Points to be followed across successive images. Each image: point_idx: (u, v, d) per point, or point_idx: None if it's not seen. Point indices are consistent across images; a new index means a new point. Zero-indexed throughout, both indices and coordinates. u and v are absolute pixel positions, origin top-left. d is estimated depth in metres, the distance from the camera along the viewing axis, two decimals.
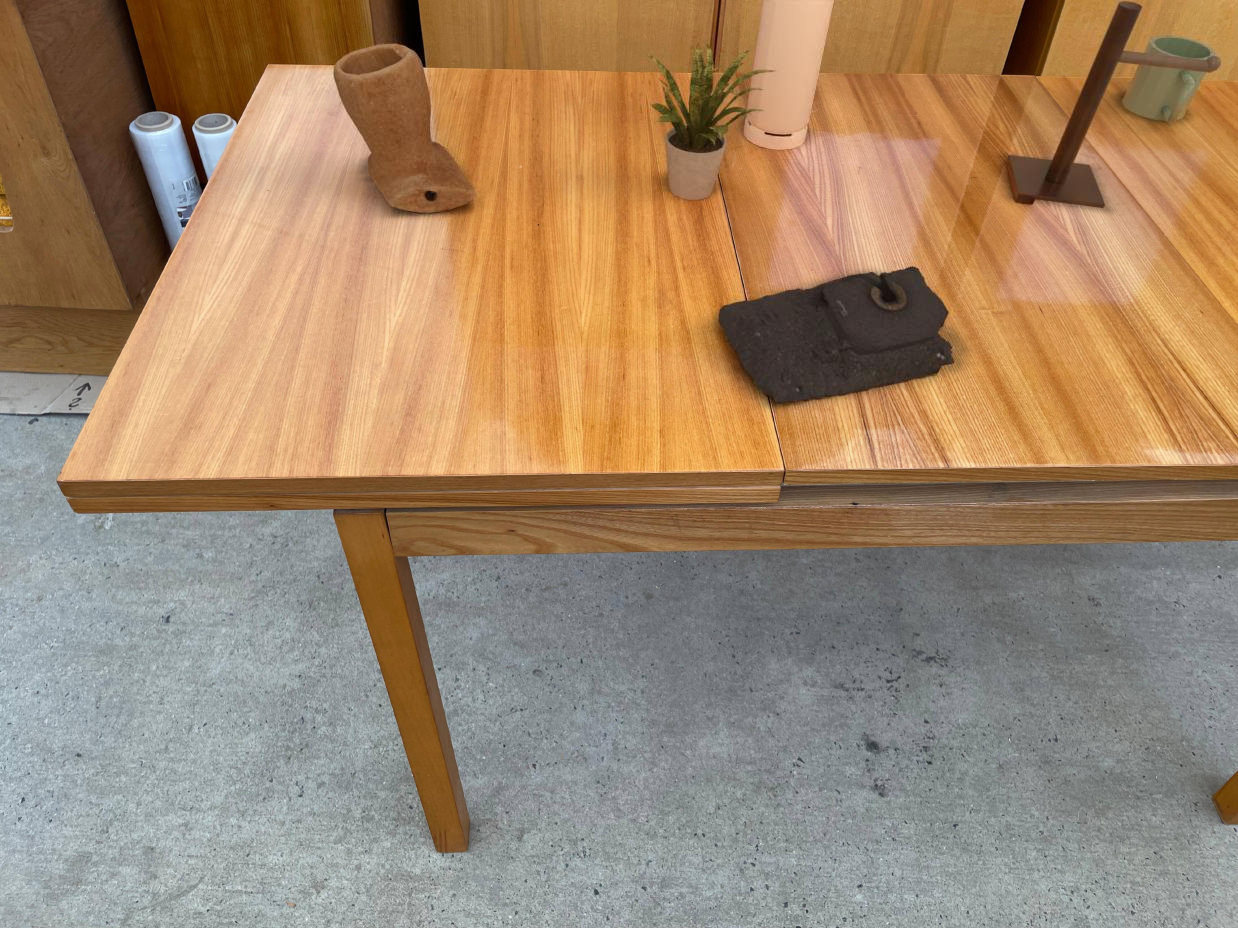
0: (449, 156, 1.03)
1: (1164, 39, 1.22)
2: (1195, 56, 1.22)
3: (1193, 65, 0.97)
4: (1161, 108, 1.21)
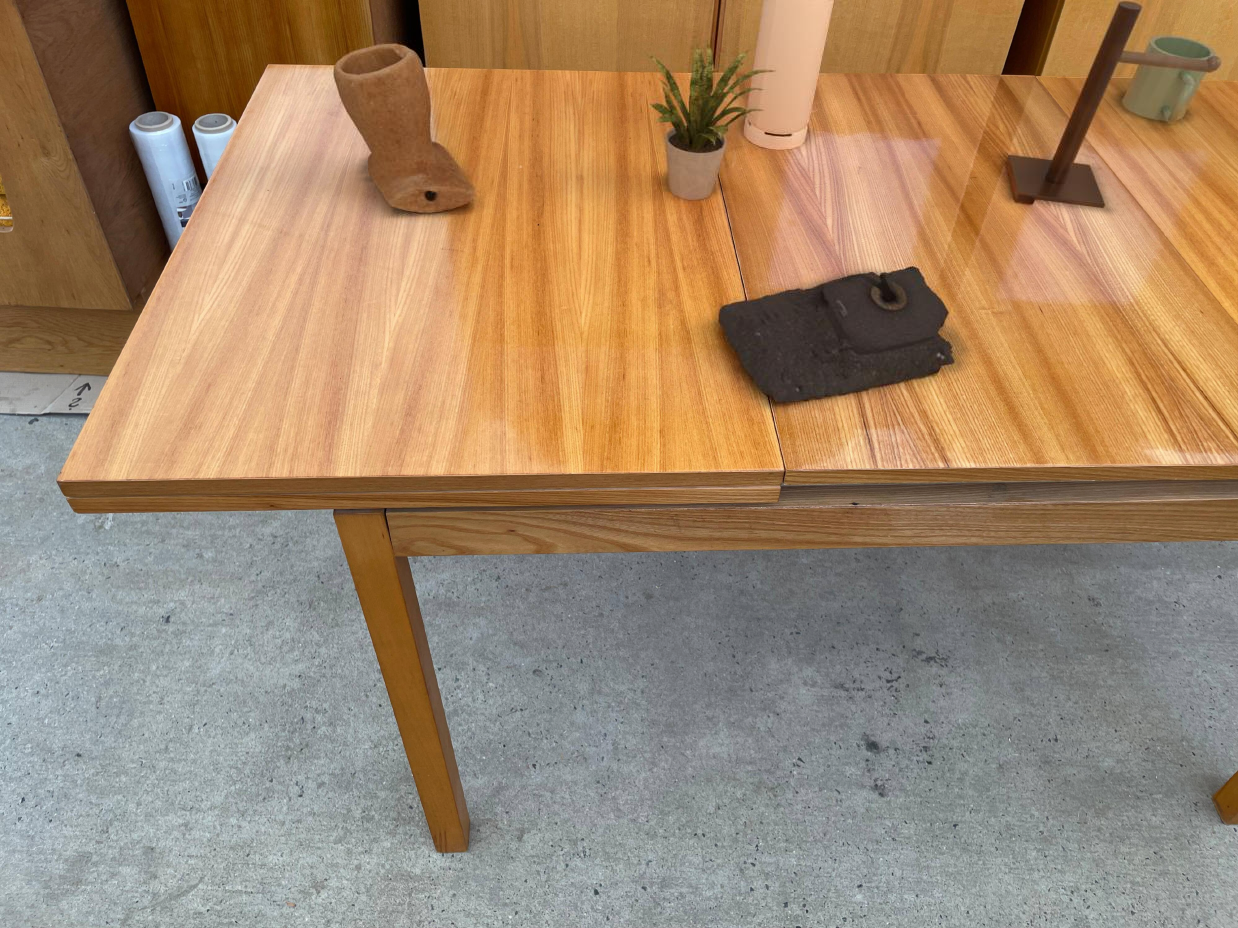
0: (449, 156, 1.03)
1: (1164, 39, 1.22)
2: (1195, 56, 1.22)
3: (1193, 65, 0.97)
4: (1161, 108, 1.21)
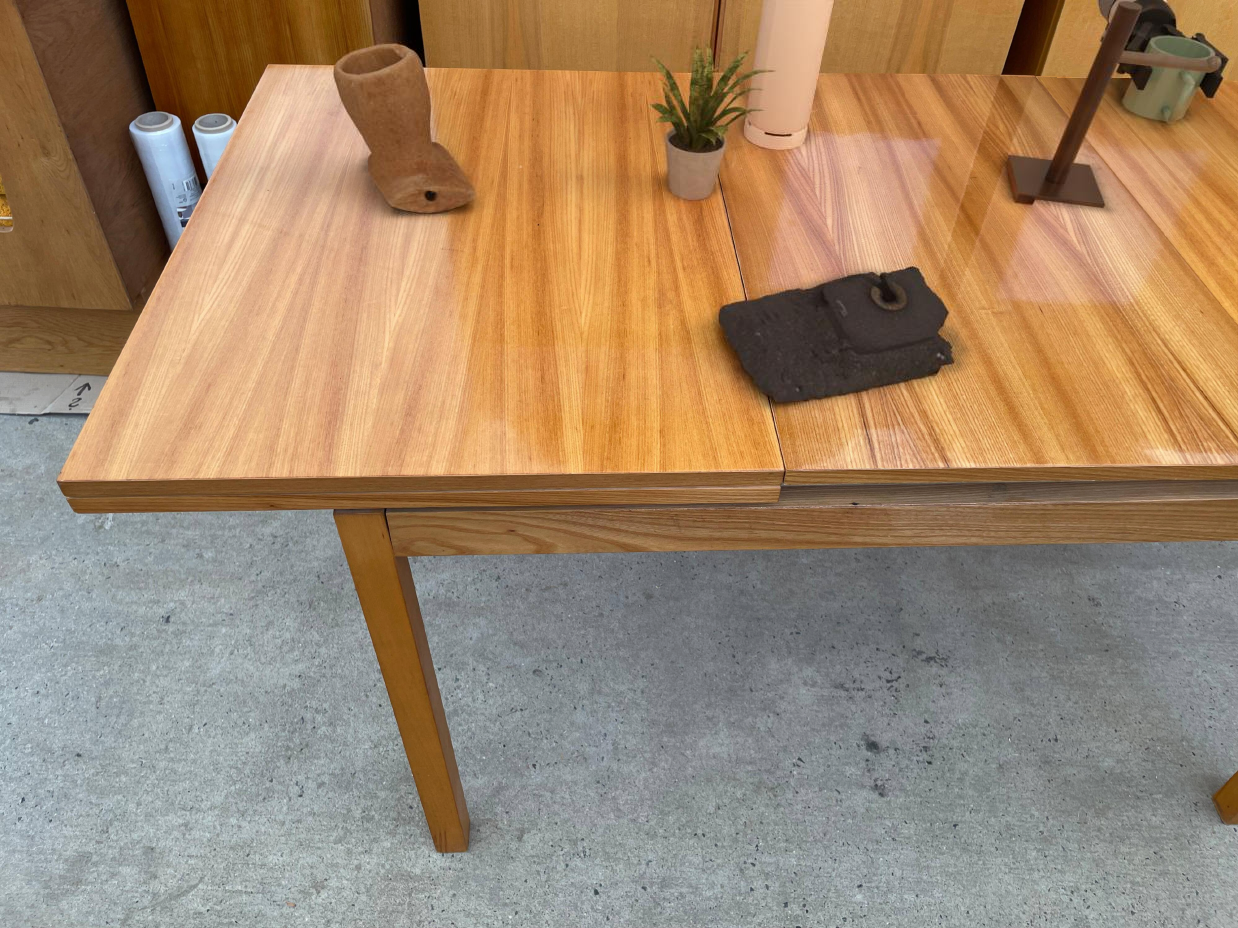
0: (449, 156, 1.03)
1: (1164, 38, 1.22)
2: (1195, 56, 1.22)
3: (1193, 65, 0.97)
4: (1161, 108, 1.21)
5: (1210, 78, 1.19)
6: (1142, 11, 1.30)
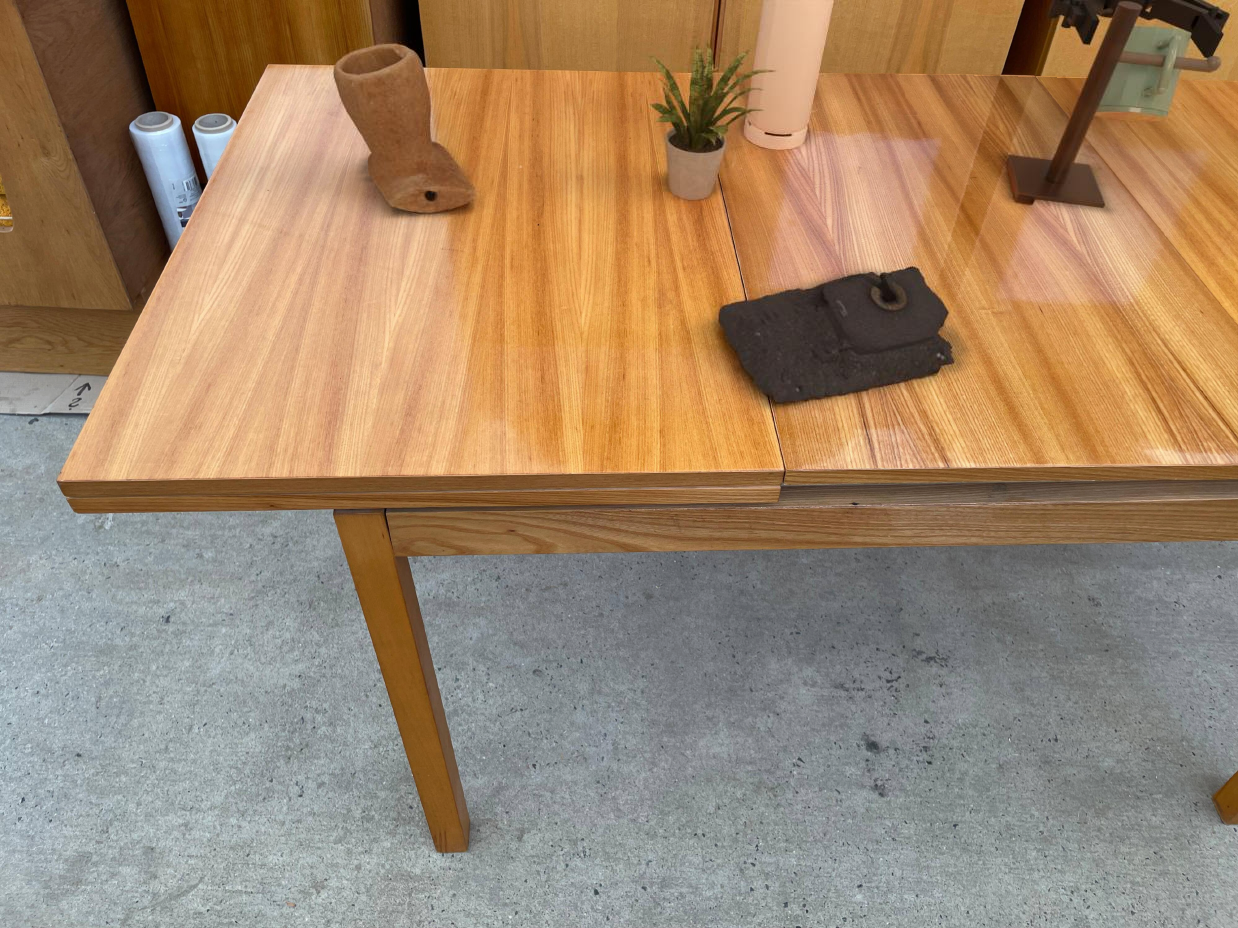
0: (449, 156, 1.03)
1: None
2: None
3: (1193, 65, 0.97)
4: (1143, 90, 1.01)
5: (1208, 35, 1.02)
6: None
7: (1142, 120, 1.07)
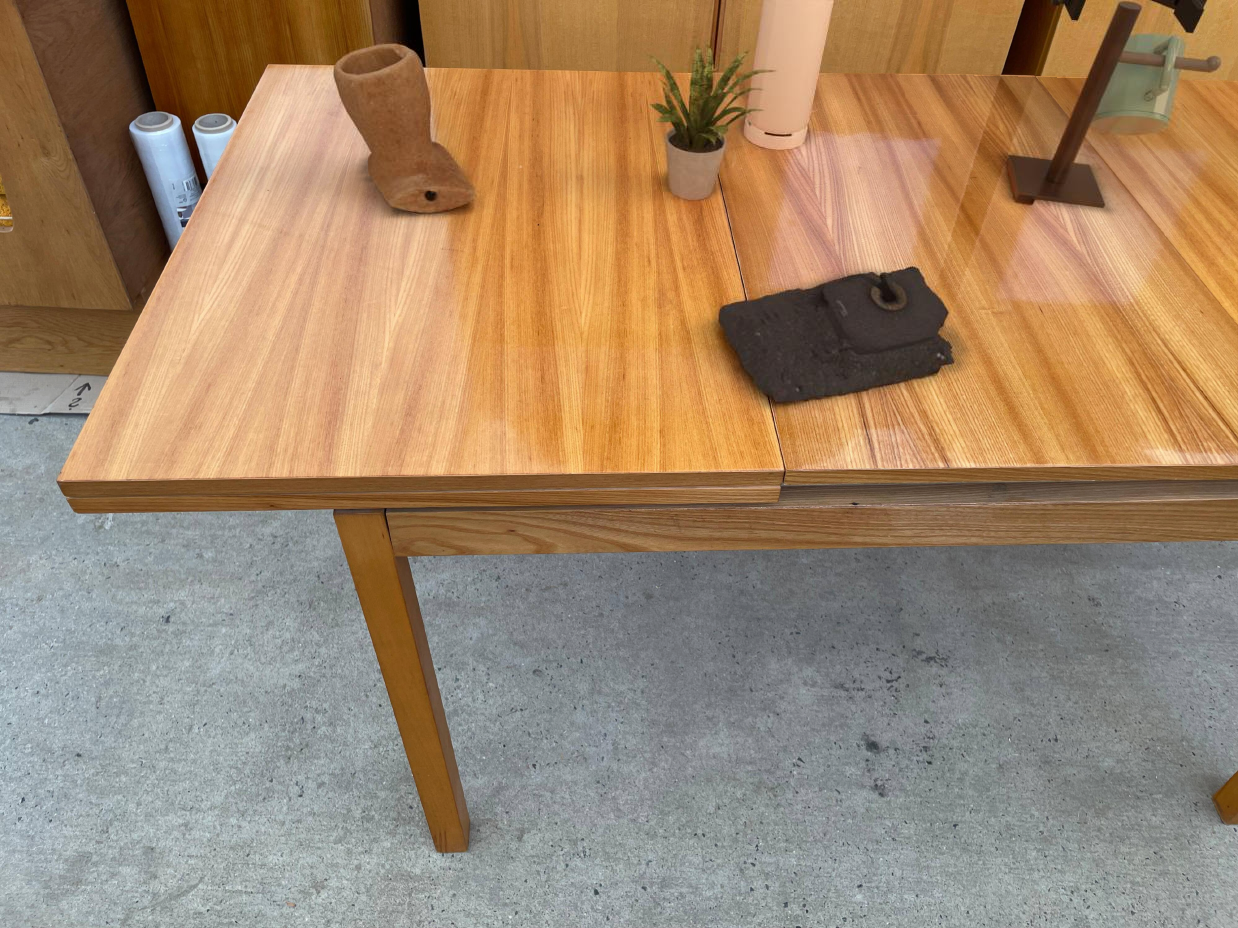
0: (449, 156, 1.03)
1: None
2: None
3: (1193, 65, 0.97)
4: (1144, 94, 1.00)
5: (1190, 11, 1.08)
6: None
7: (1142, 133, 1.06)
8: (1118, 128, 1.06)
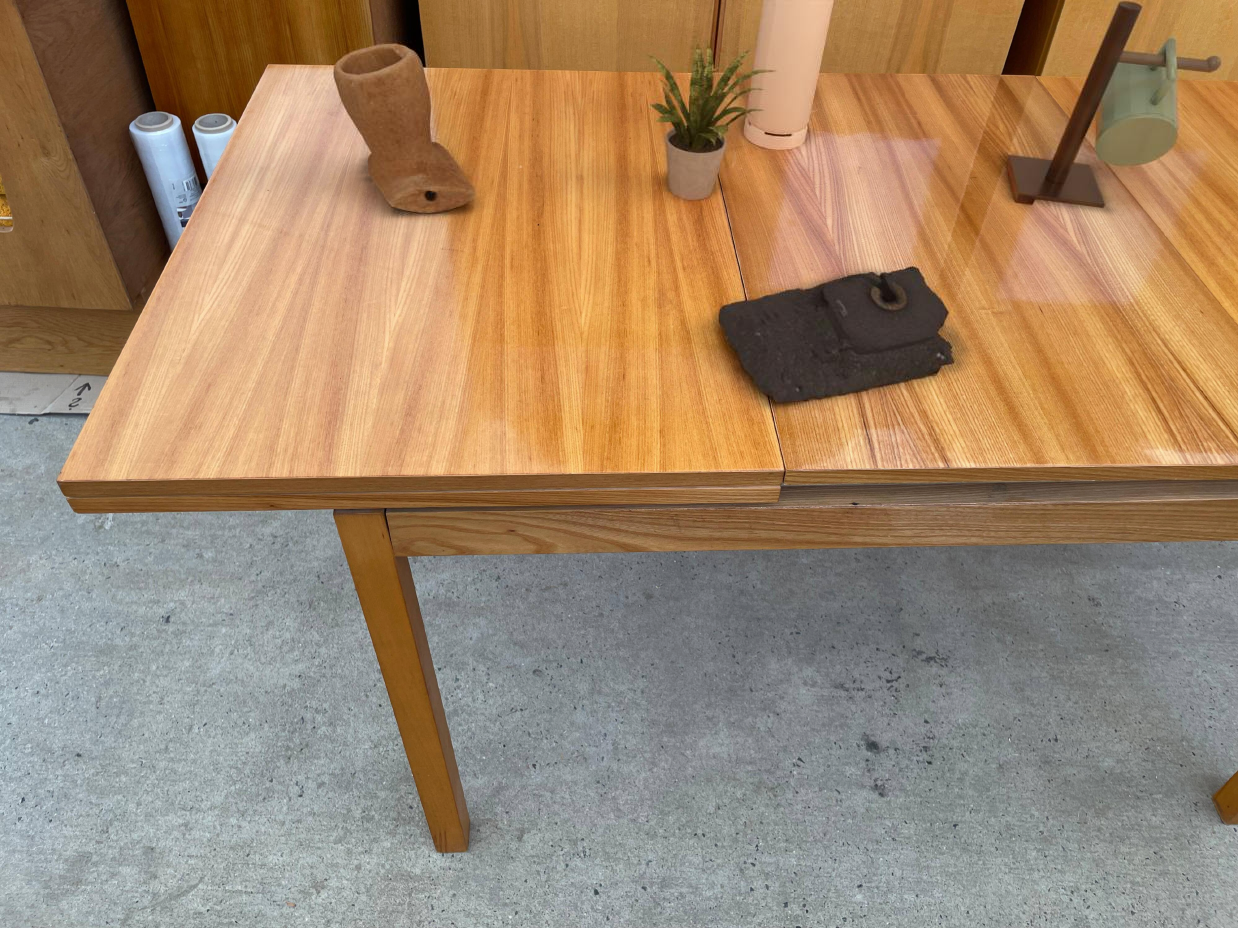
0: (449, 156, 1.03)
1: None
2: None
3: (1193, 65, 0.97)
4: (1149, 100, 0.99)
5: None
6: None
7: (1149, 159, 1.03)
8: (1125, 150, 1.03)
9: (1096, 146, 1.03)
